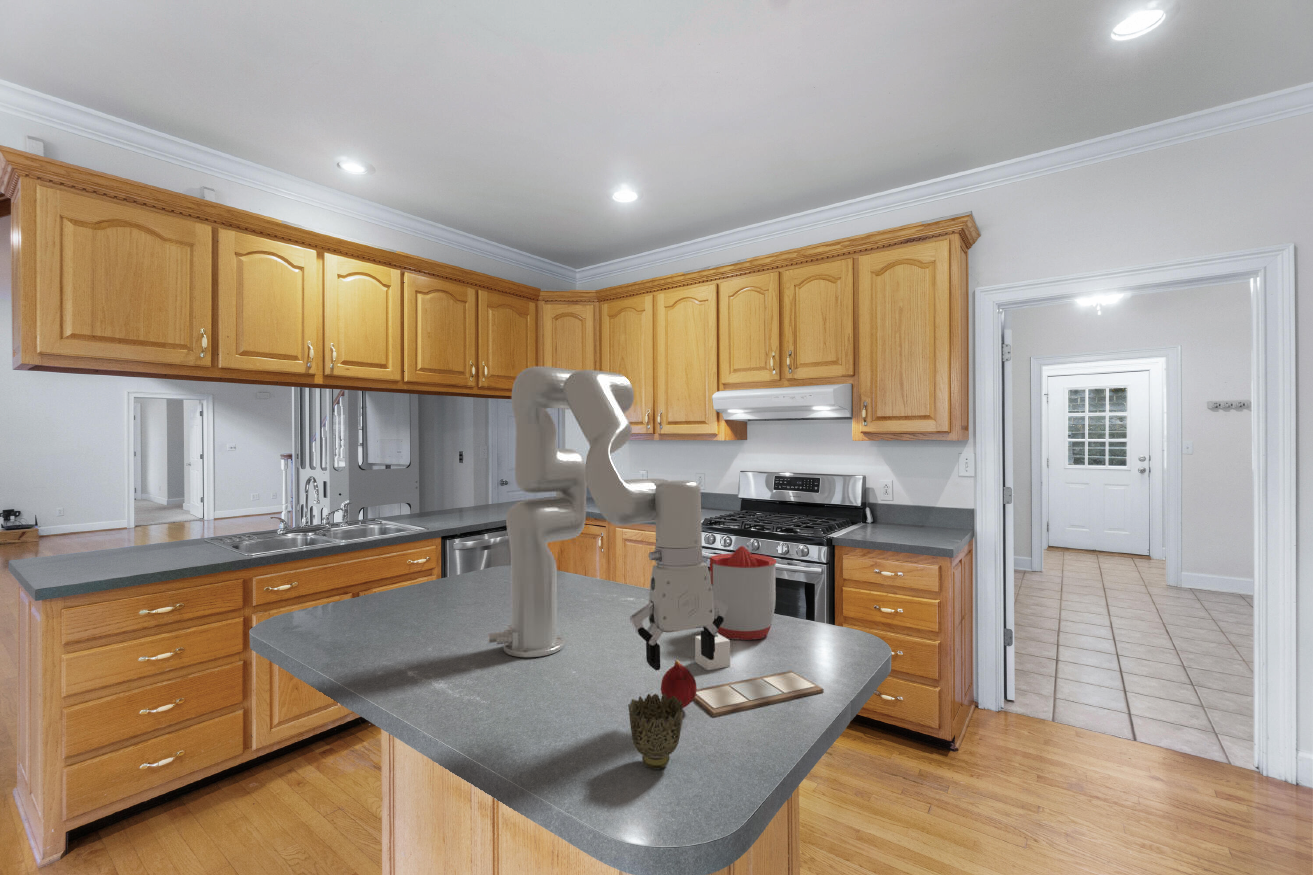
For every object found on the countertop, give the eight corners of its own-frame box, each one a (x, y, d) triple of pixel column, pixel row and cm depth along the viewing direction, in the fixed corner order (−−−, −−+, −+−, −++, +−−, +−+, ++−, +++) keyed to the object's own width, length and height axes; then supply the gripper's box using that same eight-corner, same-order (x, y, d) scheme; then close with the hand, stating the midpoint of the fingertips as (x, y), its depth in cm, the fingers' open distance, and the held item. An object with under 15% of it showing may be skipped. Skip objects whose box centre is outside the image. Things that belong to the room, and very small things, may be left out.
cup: (627, 750, 81) (627, 693, 81) (679, 748, 82) (679, 691, 82) (629, 781, 74) (629, 718, 74) (686, 778, 74) (686, 715, 75)
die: (707, 670, 110) (707, 643, 110) (695, 661, 115) (695, 635, 115) (730, 666, 112) (729, 639, 113) (717, 657, 117) (716, 632, 117)
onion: (701, 705, 95) (701, 657, 95) (688, 721, 90) (688, 669, 90) (669, 699, 98) (669, 652, 98) (655, 713, 92) (655, 663, 93)
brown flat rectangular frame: (714, 716, 91) (714, 711, 91) (687, 694, 100) (687, 690, 100) (823, 692, 101) (823, 687, 101) (791, 673, 109) (791, 669, 109)
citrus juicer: (699, 622, 141) (699, 540, 141) (770, 622, 140) (770, 540, 141) (702, 644, 125) (702, 551, 125) (782, 644, 125) (782, 552, 125)
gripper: (639, 565, 87) (641, 679, 87) (736, 555, 94) (739, 660, 94) (621, 557, 94) (623, 663, 93) (713, 548, 101) (715, 647, 101)
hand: (681, 662), depth 94 cm, fingers open, 9 cm apart
